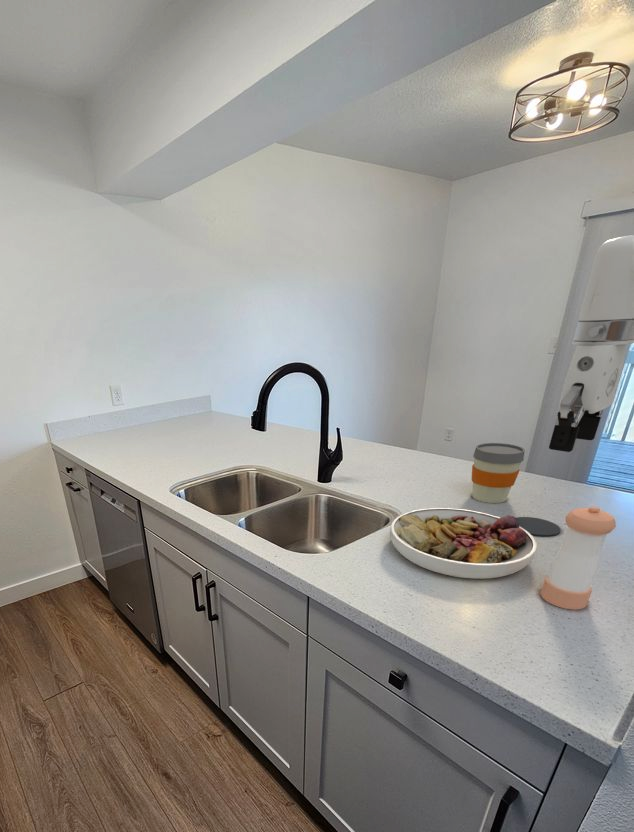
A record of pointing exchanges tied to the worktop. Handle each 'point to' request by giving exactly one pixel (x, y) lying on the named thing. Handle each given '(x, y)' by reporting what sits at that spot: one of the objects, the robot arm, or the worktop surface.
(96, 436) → the worktop surface
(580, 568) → the salt shaker
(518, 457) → the reusable coffee cup
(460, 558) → the bowl
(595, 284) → the robot arm
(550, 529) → the coaster
